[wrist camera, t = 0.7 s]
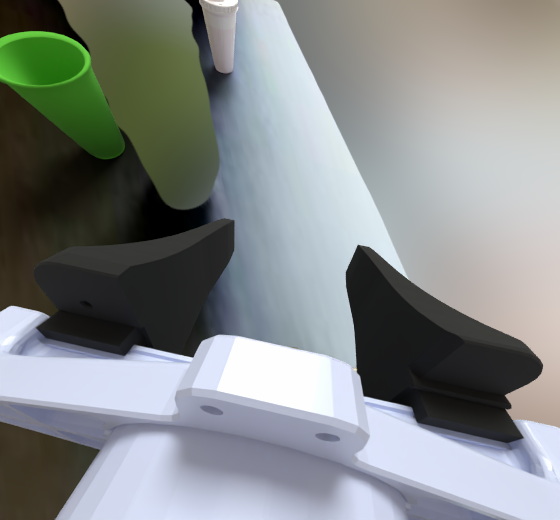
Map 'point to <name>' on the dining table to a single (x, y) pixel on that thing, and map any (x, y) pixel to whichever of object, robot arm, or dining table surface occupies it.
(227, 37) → the smoothie
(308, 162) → the dining table surface
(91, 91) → the cup
